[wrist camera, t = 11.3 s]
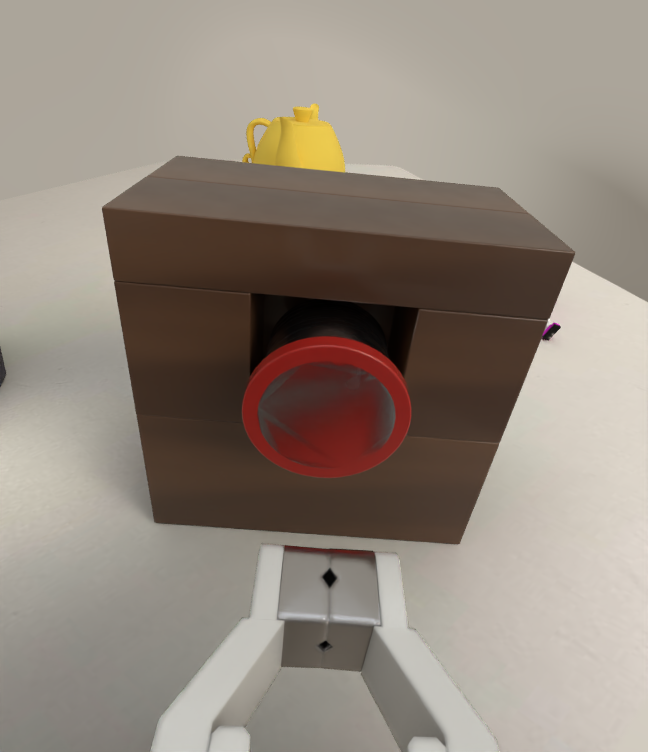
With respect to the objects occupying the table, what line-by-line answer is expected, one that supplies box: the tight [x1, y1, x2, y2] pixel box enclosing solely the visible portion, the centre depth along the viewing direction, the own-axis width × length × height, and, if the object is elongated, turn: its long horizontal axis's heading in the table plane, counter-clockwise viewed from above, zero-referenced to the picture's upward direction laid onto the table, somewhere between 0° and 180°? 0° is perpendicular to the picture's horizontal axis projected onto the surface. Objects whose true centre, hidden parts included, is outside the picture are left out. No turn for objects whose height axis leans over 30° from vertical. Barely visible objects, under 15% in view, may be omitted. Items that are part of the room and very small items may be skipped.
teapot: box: [242, 104, 345, 172], centre depth 67 cm, size 20×15×12 cm
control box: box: [102, 156, 575, 544], centre depth 21 cm, size 8×14×14 cm, turn 89°
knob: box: [242, 299, 411, 478], centre depth 16 cm, size 4×5×5 cm
